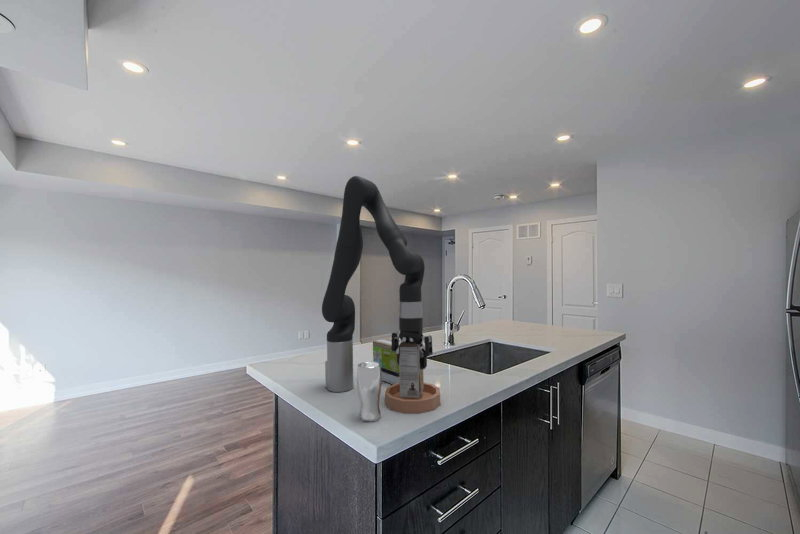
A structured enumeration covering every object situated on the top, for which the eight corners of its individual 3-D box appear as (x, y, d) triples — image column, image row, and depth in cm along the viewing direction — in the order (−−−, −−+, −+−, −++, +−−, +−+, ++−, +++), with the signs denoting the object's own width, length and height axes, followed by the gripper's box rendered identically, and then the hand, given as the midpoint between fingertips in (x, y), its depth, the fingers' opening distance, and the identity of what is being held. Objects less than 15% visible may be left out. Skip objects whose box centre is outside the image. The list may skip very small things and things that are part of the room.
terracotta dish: (374, 405, 103) (374, 393, 103) (405, 388, 117) (405, 378, 117) (421, 418, 93) (421, 405, 93) (449, 398, 107) (449, 387, 107)
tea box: (372, 378, 130) (371, 340, 130) (391, 372, 137) (391, 336, 137) (398, 387, 119) (397, 346, 119) (417, 380, 126) (417, 341, 126)
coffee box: (404, 387, 111) (404, 338, 111) (424, 388, 109) (423, 339, 110) (399, 397, 102) (398, 344, 102) (420, 398, 100) (419, 345, 101)
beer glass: (358, 413, 98) (357, 361, 98) (382, 411, 98) (381, 360, 99) (357, 423, 91) (356, 368, 91) (383, 422, 91) (381, 367, 92)
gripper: (385, 315, 107) (386, 366, 107) (423, 318, 99) (425, 373, 98) (399, 313, 113) (400, 361, 113) (436, 315, 105) (437, 367, 105)
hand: (411, 366), depth 106 cm, fingers closed on coffee box, 8 cm apart
